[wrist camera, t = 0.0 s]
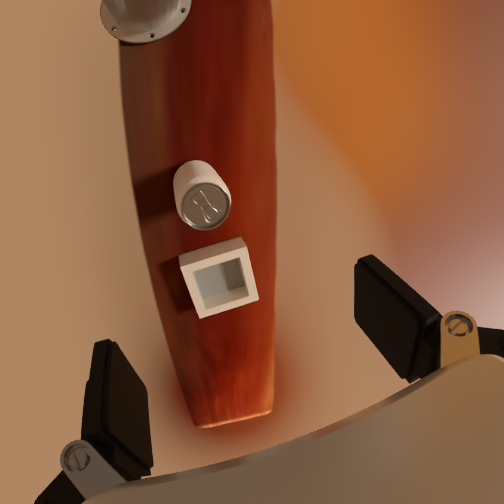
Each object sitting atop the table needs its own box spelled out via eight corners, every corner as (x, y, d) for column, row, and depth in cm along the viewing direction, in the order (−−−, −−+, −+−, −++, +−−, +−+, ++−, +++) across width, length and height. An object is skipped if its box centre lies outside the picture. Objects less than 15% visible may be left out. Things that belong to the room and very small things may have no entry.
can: (191, 210, 47) (200, 244, 36) (163, 178, 43) (164, 204, 33) (225, 183, 46) (245, 210, 36) (199, 150, 43) (211, 166, 33)
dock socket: (178, 255, 49) (180, 267, 46) (240, 236, 51) (246, 246, 48) (196, 305, 55) (199, 318, 51) (252, 287, 56) (258, 299, 53)
